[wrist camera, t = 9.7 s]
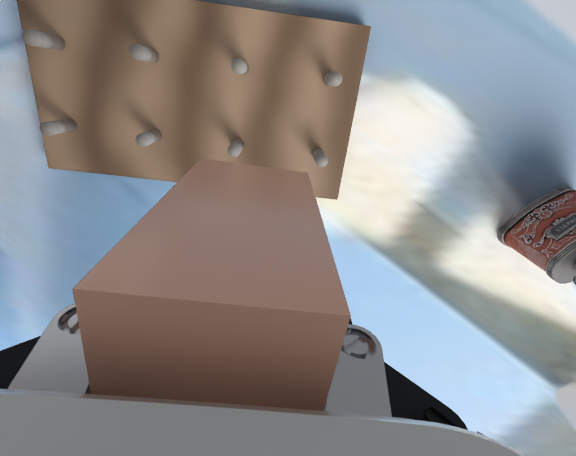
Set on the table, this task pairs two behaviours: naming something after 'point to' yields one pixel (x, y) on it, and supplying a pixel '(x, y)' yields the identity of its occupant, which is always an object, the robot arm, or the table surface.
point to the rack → (191, 87)
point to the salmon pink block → (219, 295)
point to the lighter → (546, 233)
